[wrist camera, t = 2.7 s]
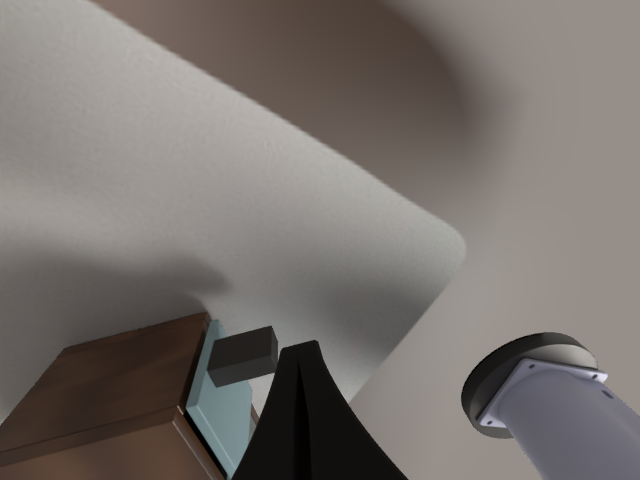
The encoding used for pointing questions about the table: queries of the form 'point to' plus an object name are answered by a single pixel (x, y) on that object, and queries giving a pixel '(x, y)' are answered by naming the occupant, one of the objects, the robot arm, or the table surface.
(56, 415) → the cabinet
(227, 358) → the glass door
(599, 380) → the robot arm
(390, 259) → the table surface
